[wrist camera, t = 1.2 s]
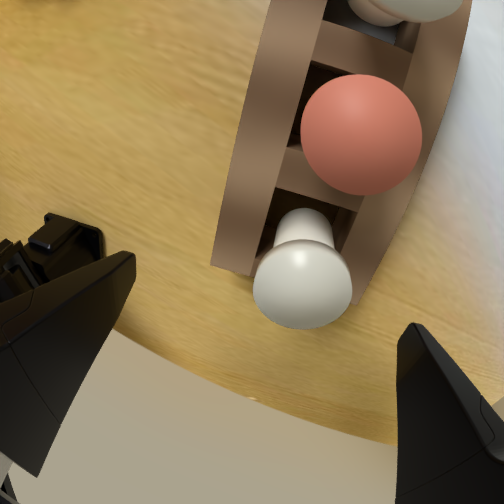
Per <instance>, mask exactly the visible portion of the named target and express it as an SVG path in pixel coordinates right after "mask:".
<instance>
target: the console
mask: <svg viewBox="0 0 504 504" xmlns="http://www.w3.org/2000/svg"><path fill="white" fill-rule="evenodd" d="M326 3H327V0H271V2H270V5H269V9H268V12H267V16H266V20H265V23H264V27H263V31H262V35H261V38H260V42H259V46H258V50H257V54H256V57H255V61H254V65H253V69H252V73H251V77H250V81H249V85H248V89H247V94H246V98H245V102H244V106H243V110H242V115H241V119H240V123H239V127H238V132H237V136H236V141H235V145H234V150H233V154H232V159H231V163H230V168H229V172H228V177H227V182H226V187H225V191H224V196H223V201H222V206H221V211H220V216H219V221H218V226H217V231H216V236H215V241H214V246H213V252H212V257H211V262H210V265H212V266H215V267H219V268H222V269H226V270H229V271H233V272H236V273H240V274H243V275H247V276H250V277H254V278H255V276H256V272H257V268H258V265H259V263H260V261H261V259H262V258H263V257H264V256H265V254H266V253H267V252H268V251H270V250H271V249H272V248H273V247H274V241H275V236H276V231H277V228H273V227H270V226H266V225H264V224H265V220H266V217H267V213H268V210H269V206H270V203H271V199H272V196H273V192H274V189H275V187H277V188H281V189H284V190H288V191H291V192H295V193H298V194H301V195H305V196H308V197H311V198H314V199H318V200H321V201H324V202H327V203H331V204H334V205H337V206H340V207H339V210H338V213H337V215H336V218H335V220H334V223H333V225H332V233H333V240H334V247H335V250H336V251H337V252H338V253H340V254H341V256H342V257H343V258H344V260H345V261H346V263H347V265H348V268H349V272H350V277H351V283H352V297H351V301H350V303H349V304H353V305H357V304H358V302H359V300H360V299H361V297H362V295H363V293H364V291H365V290H366V288H367V286H368V284H369V282H370V281H371V279H372V277H373V275H374V273H375V271H376V269H377V267H378V266H379V264H380V262H381V260H382V258H383V256H384V254H385V252H386V250H387V248H388V246H389V244H390V242H391V240H392V238H393V236H394V234H395V232H396V230H397V228H398V226H399V223H400V221H401V219H402V217H403V215H404V213H405V210H406V208H407V206H408V204H409V202H410V199H411V197H412V195H413V192H414V190H415V188H416V185H417V183H418V181H419V178H420V176H421V173H422V171H423V169H424V166H425V164H426V161H427V158H428V156H429V153H430V151H431V148H432V145H433V143H434V140H435V137H436V135H437V132H438V129H439V126H440V123H441V120H442V117H443V114H444V111H445V108H446V105H447V102H448V99H449V96H450V92H451V89H452V86H453V82H454V79H455V75H456V72H457V68H458V64H459V60H460V57H461V53H462V48H463V44H464V40H465V35H466V31H467V26H468V21H469V16H470V11H471V5H472V0H463V2H462V4H461V5H460V7H459V8H458V9H457V10H456V11H455V12H454V13H452V14H451V15H449V16H446V17H443V18H441V19H438V20H435V21H431V22H425V23H415V22H408V21H402V22H400V23H399V27H398V31H397V34H396V38H395V42H394V45H392V44H389V43H387V42H384V41H382V40H379V39H377V38H374V37H372V36H369V35H366V34H364V33H361V32H358V31H355V30H352V29H350V28H347V27H344V26H340V25H337V24H334V23H331V22H327V21H324V20H322V18H323V14H324V10H325V7H326ZM309 65H312V66H315V67H319V68H322V69H325V70H329V71H332V72H335V73H338V74H341V75H344V76H346V75H357V74H360V75H370V76H375V77H378V78H381V79H384V80H386V81H388V82H390V83H391V84H393V85H394V86H396V87H397V88H398V89H400V90H401V91H402V92H403V93H404V94H405V95H406V96H407V97H408V99H409V100H410V101H411V103H412V104H413V106H414V108H415V110H416V112H417V114H418V117H419V120H420V124H421V128H422V146H421V151H420V154H419V158H418V160H417V162H416V164H415V166H414V168H413V169H412V171H411V172H410V174H409V175H408V176H407V177H406V178H405V179H404V180H403V181H402V182H401V183H399V184H398V185H397V186H395V187H393V188H391V189H390V190H388V191H385V192H382V193H379V194H374V195H353V194H348V193H345V192H342V191H339V190H337V189H335V188H333V187H331V186H330V185H328V184H327V183H326V182H324V181H323V180H322V179H321V178H320V177H319V176H318V175H317V174H316V173H315V172H314V171H313V169H312V168H311V166H310V165H309V163H308V161H307V159H306V157H305V154H304V151H303V148H302V143H301V136H300V135H296V134H293V133H290V132H291V128H292V125H293V121H294V118H295V114H296V111H297V107H298V104H299V100H300V96H301V93H302V89H303V86H304V82H305V79H306V75H307V71H308V68H309Z"/></svg>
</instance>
